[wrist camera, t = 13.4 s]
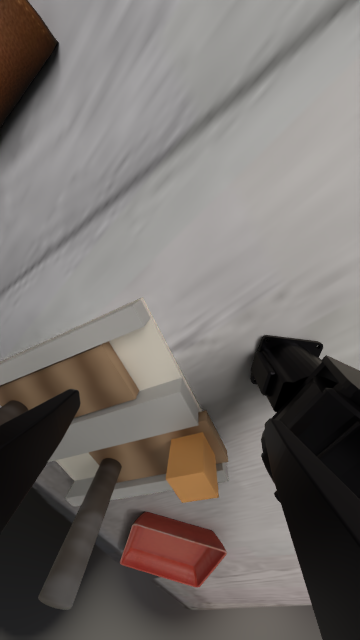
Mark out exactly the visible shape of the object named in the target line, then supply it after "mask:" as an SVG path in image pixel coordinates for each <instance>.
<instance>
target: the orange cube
mask: <svg viewBox="0 0 360 640" xmlns="http://www.w3.org/2000/svg"><path fill="white" fill-rule="evenodd" d="M166 480H167V482H168V483H169V485H170V486H171V487H172V489H173V490H174V492H175V493H176V495H177V496H178V497H179V499H180V500H181V502H182V503H184V502H191V501H198V500H205V499H211V498H218V497H219V495H218V483H217V471H216V460H215V454H214V452H213V450H212V449H211V447H210V445H209V443H208V441H207V439H206V438H205V436H204V434H203V432H201V433H197V434H193V435H188V436H184V437H180V438H176V439H171V445H170V452H169V459H168V466H167V473H166Z"/></svg>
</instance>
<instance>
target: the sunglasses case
mask: <svg viewBox="0 0 360 640" xmlns="http://www.w3.org/2000/svg"><path fill="white" fill-rule="evenodd" d="M57 43H58V41H57V40H56V39H55V38H54V36H53V35H52V33H51V32H50V30H49V29H48V27H47V26H46V24H45V23H44V21H43V20H42V18H41V17H40V15H39V14H38V13H37V12H36V11H35V9H34V8H33V7H32V5H31V4H30V3H29V2H28V0H0V128H1V126H2V124H3V122H4V121H5V119H6V117H7V116H8V115H9V114H10V112H11V111H12V110H13V108H14V107H15V106H16V104H17V103H18V101H19V100H20V98H21V96H22V95H23V93H24V92H25V90H26V89H27V87H28V86H29V84H30V83H31V82H32V80H33V79H34V77H35V76H36V75H37V73H38V72H39V71H40V69H41V68H42V66H43V64H44V63H45V61H46V60H47V59H48V58H49V56H50V55H51V54H52V52H53V50H54V48H55V45H56V44H57Z"/></svg>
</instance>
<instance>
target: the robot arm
mask: <svg viewBox="0 0 360 640" xmlns="http://www.w3.org/2000/svg"><path fill="white" fill-rule="evenodd" d="M266 339H268V341H265V340H266ZM317 345H318V347H316V346H317ZM322 349H323V344H322V343H320V342H318V341H311V340H303V339H295V338H286V337H278V336H270V335H265V336H263V337H262V339H261V343H260V346H259V350H258V351H257V352H256V353H255V357H254V360H253V364H252V368H251V371H252V374H251V377H250V380H251V382H252V383H253V384H258V387H259V389H260V391H261V393H262V394H263V395H265V396H267V398H268V400H269V402H270V404H271V406H272V408H273V410H274V411H275V412H277V413H276V414H275V415H274V416H273V417H272V418H270V419H269V420H268V421H267V422H266V423H265V430H264V432H263V434H262V438H261V442H262V449H263V453H262V455H261V457H262V460H263V462H264V465H265V467H266V470H267V472H268V473H269V475H270V477H271V479H272V480H273V482H274V484H275V486H276V489H277V491H276V492H275V493H274V495H275V497H276V499H277V500H278V501H279V502H280V503H281V505H282V508H283V512H284V515H285V518H286V522H287V525H288V528H289V531H290V535H291V538H292V541H293V544H294V548H295V551H296V554H297V557H298V561H299V564H300V567H301V571H302V574H303V577H304V580H305V584H306V587H307V590H308V593H309V597H310V600H311V603H312V606H313V610H314V613H315V616H316V619H317V623H318V626H319V629H320V633H321V636H322V639H323V640H360V371H359V370H357V369H355V368H353V367H351V366H348V365H346V364H344V363H342V362H340V361H338V360H335V359H333V358H331V357H329V356H327V355H326V356H325V357H324V358H323V359H322V360H321V359H320V358H319V356H320V353H321V351H322ZM254 379H255V380H254ZM80 404H81V402H80V394H79V391H78V390H75V389H68V390H66V391H64V392H62V393H60V394H59V395H57V396H55V397H53V398H51V399H49V400H47V401H45V402H43V403H41V404H40V405H38V406H36V407H34V408H32V409H30V410H28V411H26V412H24V413H22V414H21V415H19V416H17V417H15V418H13V419H11V420H9V421H7V422H5V423H3V424H2V425H0V534H1V532H2V531H3V529H4V528H5V526H6V525H7V523H8V522H9V520H10V518H11V517H12V515H13V514H14V512H15V511H16V509H17V508H18V506H19V505H20V503H21V502H22V500H23V499H24V497H25V496H26V494H27V493H28V491H29V490H30V488H31V487H32V485H33V484H34V482H35V481H36V479H37V478H38V476H39V474H40V473H41V471H42V470H43V468H44V467H45V465H46V464H47V462H48V461H49V459H50V458H51V456H52V455H53V453H54V452H55V450H56V449H57V447H58V446H59V444H60V442H61V441H62V439H63V437H64V436H65V434H66V432H67V430H68V428H69V426H70V424H71V423H72V421H73V419H74V417H75V415H76V413H77V411H78V410H79V408H80Z"/></svg>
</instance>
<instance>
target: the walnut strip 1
mask: <svg viewBox="0 0 360 640" xmlns="http://www.w3.org/2000/svg"><path fill="white" fill-rule="evenodd" d="M68 389H75V390H78V391H79V394H80V402H81V404H80V408H79V410H78V411H77V413H76V415H75V417H79V416H82V415H85V414H88V413H92V412H95V411H98V410H101V409H105V408H108V407H111V406H114V405H118V404H121V403H124V402H127V401H131V400H134V399H136V397H137V395H138V392H139V389H138V387H137V386H136V384H135V382H134V381H133V379H132V378H131V376H130V375H129V373H128V371H127V370H126V368H125V367H124V365H123V363H122V362H121V360H120V359H119V357H118V355H117V354H116V352H115V351H114V349H113V347H112V346H111V344H110V343H109V341H108V342H105V343H103V344H101V345H98V346H96V347H93V348H91V349H88V350H86V351H83V352H81V353H79V354H76V355H74V356H71V357H69V358H66V359H64V360H61V361H59V362H57V363H54V364H52V365H49V366H47V367H44V368H42V369H39V370H37V371H34V372H32V373H30V374H27V375H25V376H22V377H20V378H17V379H15V380H12V381H10V382H8V383H5V384H3V385H0V405H1V406H2V407H1V408H0V425H2V424H3V423H5V422H7V421H9V420H11V419H13V418H15V417H17V416H19V415H21V414H22V413H24V412H26V411H28V410H30V409H32V408H34V407H36V406H38V405H40V404H41V403H43V402H45V401H47V400H49V399H51V398H53V397H55V396H57V395H59V394H60V393H62V392H64V391H66V390H68ZM75 417H74V418H75Z"/></svg>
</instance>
